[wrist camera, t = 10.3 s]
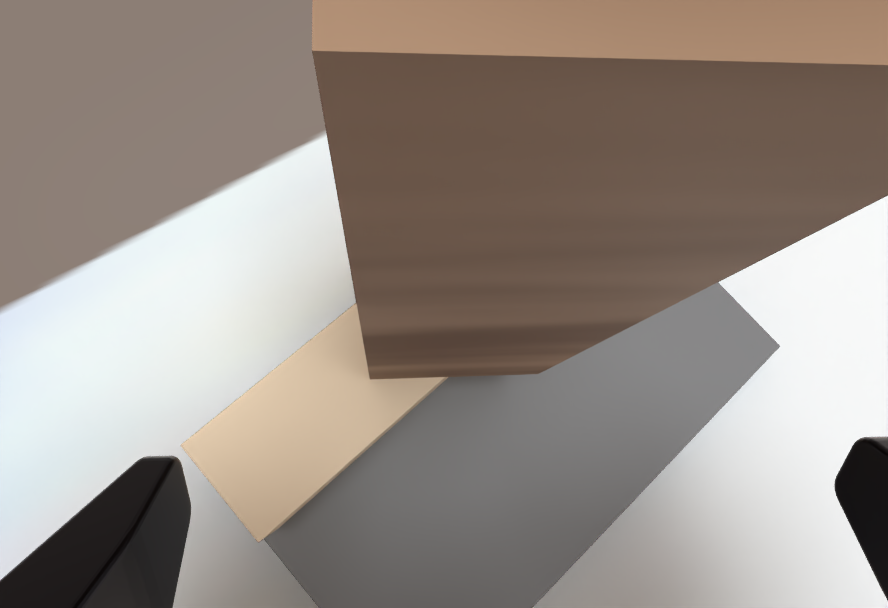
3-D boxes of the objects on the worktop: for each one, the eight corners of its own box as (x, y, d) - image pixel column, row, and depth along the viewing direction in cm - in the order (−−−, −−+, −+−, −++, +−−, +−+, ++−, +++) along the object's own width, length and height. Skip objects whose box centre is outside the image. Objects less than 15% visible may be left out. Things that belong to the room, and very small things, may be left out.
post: (538, 373, 16) (1130, 71, 3) (369, 379, 15) (312, 50, 3) (525, 217, 17) (938, -465, 4) (367, 218, 16) (316, -546, 4)
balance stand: (761, 351, 21) (847, 328, 17) (414, 713, 17) (424, 789, 13) (564, 147, 22) (602, 82, 18) (198, 445, 18) (149, 443, 14)
